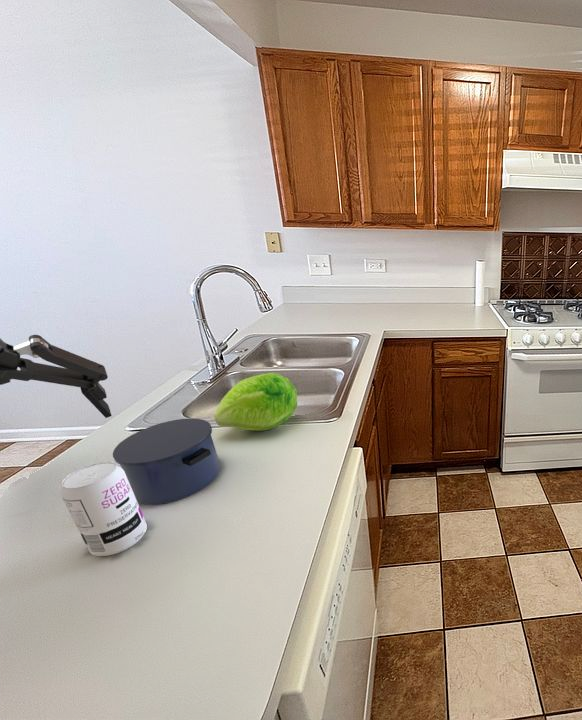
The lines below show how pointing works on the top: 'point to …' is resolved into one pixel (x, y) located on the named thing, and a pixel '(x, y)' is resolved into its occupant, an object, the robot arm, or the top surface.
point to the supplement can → (103, 508)
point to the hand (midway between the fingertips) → (52, 432)
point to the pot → (169, 460)
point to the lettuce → (257, 403)
